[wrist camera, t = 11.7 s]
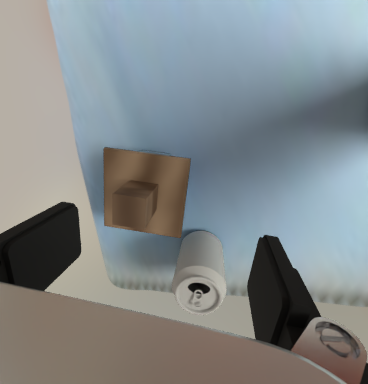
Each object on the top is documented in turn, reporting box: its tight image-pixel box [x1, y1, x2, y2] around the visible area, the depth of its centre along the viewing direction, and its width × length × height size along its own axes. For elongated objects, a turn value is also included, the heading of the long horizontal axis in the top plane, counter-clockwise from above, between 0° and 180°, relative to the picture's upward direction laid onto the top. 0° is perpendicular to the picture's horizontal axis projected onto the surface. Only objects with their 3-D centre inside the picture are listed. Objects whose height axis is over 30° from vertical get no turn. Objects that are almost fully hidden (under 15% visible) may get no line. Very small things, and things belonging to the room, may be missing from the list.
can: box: [172, 231, 226, 315], centre depth 33 cm, size 8×8×12 cm
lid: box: [104, 147, 191, 238], centre depth 28 cm, size 12×12×7 cm
